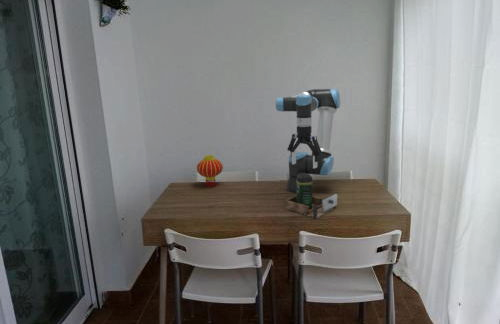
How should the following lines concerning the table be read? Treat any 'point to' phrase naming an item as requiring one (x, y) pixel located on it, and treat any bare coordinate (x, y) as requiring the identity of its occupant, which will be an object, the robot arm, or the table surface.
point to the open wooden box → (306, 207)
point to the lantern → (209, 168)
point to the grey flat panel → (329, 202)
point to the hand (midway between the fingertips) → (304, 165)
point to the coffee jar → (304, 189)
